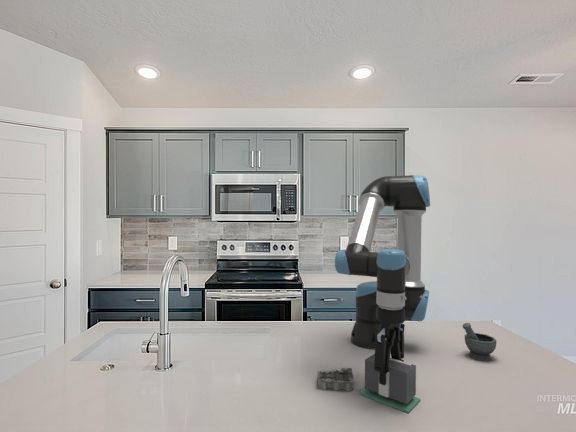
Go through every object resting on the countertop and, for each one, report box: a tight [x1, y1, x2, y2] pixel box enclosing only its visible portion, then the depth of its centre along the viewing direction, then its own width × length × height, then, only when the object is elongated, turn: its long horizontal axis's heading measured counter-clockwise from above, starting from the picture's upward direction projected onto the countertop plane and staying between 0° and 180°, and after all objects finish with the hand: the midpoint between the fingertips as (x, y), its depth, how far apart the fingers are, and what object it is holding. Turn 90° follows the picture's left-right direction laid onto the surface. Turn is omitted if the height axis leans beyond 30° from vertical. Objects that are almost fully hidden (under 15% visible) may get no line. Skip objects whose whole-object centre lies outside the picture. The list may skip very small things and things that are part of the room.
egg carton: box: [317, 367, 355, 392], centre depth 103 cm, size 11×8×4 cm
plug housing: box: [364, 353, 417, 404], centre depth 96 cm, size 12×6×8 cm, turn 48°
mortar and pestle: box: [461, 322, 497, 361], centre depth 124 cm, size 11×9×12 cm
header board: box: [359, 387, 421, 414], centre depth 96 cm, size 14×8×6 cm, turn 48°
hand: (389, 390), depth 96 cm, fingers closed on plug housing, 6 cm apart
